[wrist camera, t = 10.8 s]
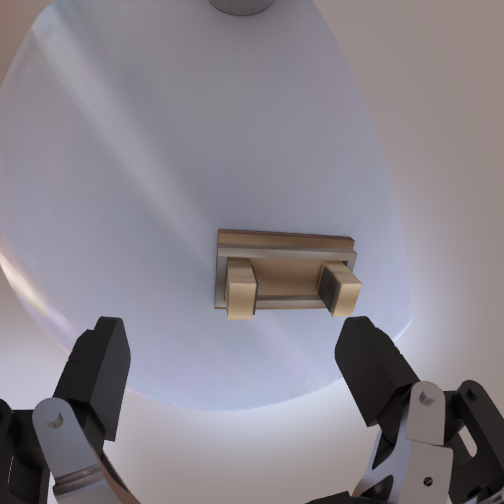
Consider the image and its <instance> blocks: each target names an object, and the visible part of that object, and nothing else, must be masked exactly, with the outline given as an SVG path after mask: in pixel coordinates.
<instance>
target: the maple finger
mask: <svg viewBox="0 0 504 504" xmlns="http://www.w3.org/2000/svg"><path fill="white" fill-rule="evenodd" d="M361 285H362V283H361V282H360V281H359V280H358V279H357V278H356V276H355V275H354V274H353V273H352V272H351V271H350V270H349V269H348V268H347V267H346V266H345V265H344V263H343V262H342V261H332V260H323V264H322V268H321V273H320V277H319V281H318V285H317V290H316V291H317V292H318V295H319V296H320V298H321V299H322V301H323V303H324V304H325V306H326V307H327V309H328V311H329V312H330V313H331V315H332V316H333V317H339V316H352V313H353V310H354V307H355V304H356V301H357V298H358V295H359V292H360V288H361Z"/></svg>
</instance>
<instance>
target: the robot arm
mask: <svg viewBox="0 0 504 504" xmlns="http://www.w3.org/2000/svg"><path fill="white" fill-rule="evenodd" d="M209 1H210V2H211V3H212V5H213V6H215V7H216V8H217V9H219V10H221V11H223V12H226V13H229V14H233V15H252V14H256V13H259V12H261V11H263V10H265V9H266V8H268V7H269V6H270V5H271V3H272V2H273V0H209ZM72 350H73V351H72V352H71V354H70V356H69V358H68V359H69V360H68V361H67V363H66V365H65V368H64V370H63V372H62V375H61V377H60V379H59V382H58V385H57V387H56V389H55V392H54V394H53V396H52V398H47V399H45V400H42V401H41V402H40V403H39V404H37V406H36V407H35V409H34V410H12V409H11V408H10V407H9V405H8V404H7V403H6V402H5V401H4V400H2V399H0V504H47V497H48V487H49V478H50V471H51V472H52V475H53V477H54V480H55V485H54V486H53V493H54V496H55V498H56V500H57V502H58V504H141V503H140V502H139V501H138V500H137V499H136V498H135V497H134V495H133V494H132V493H131V492H130V490H129V489H128V488H127V486H126V485H125V484H124V482H123V481H122V479H121V478H120V476H119V475H118V473H117V472H116V470H115V469H114V467H113V466H112V464H111V462H110V461H109V459H108V457H107V456H106V454H105V453H104V451H103V444H104V440H109V441H114V442H115V437H116V431H117V426H118V420H119V414H120V409H121V404H122V399H123V394H124V390H125V385H126V381H127V376H128V372H129V368H130V361H131V356H130V348H129V344H128V341H127V337H126V332H125V328H124V324H123V321H122V319H121V318H116V317H104V316H101V317H100V318H99V319H98V321H97V323H96V326H95V328H94V330H88V329H87V330H86V331H85V332H84V333H83V334H82V335H81V336H80V337H79V338H78V339H77V341H76V343H75V345H74V347H73V349H72ZM335 360H336V363H337V365H338V367H339V369H340V371H341V373H342V375H343V377H344V379H345V381H346V383H347V385H348V387H349V389H350V392H351V394H352V396H353V398H354V400H355V402H356V404H357V406H358V408H359V410H360V412H361V414H362V417H363V419H364V421H365V423H366V425H367V427H371V426H374V425H377V424H379V426H380V427H381V429H380V430H379V431H378V434H377V437H376V440H375V444H374V447H373V451H372V454H371V457H370V460H369V463H368V466H367V469H366V472H365V474H364V476H363V477H362V479H361V480H360V481H359V483H358V484H357V486H356V488H355V489H354V492H353V494H352V496H350V495H349V492H348V491H345V492H342V493H338V494H335V495H331V496H327V497H324V498H320V499H316V500H312V501H310V502H308V503H306V504H446V502H447V497H448V494H449V497H450V499H451V502H452V504H504V419H503V417H502V415H501V414H500V412H499V411H498V409H497V408H496V406H495V404H494V403H493V402H492V400H491V399H490V397H489V395H488V394H487V393H486V391H485V390H484V388H483V387H482V386H481V385H480V384H479V383H477V382H475V381H472V380H467V381H464V382H463V383H462V384H461V385H460V387H459V388H458V389H457V391H442V390H441V389H440V388H439V387H438V386H437V385H436V384H434V383H432V382H429V381H420V380H419V378H418V377H417V375H416V374H415V373H414V371H413V370H412V368H411V367H410V365H409V364H408V363H407V361H406V360H405V358H404V357H403V355H402V354H400V351H399V350H398V348H397V347H396V346H394V343H393V342H392V340H391V339H390V337H389V336H388V335H387V334H386V333H384V332H383V331H382V330H380V329H379V328H375V326H374V325H373V323H372V322H371V321H370V319H369V318H368V317H367V316H359V317H348V318H347V319H346V320H345V322H344V324H343V327H342V330H341V333H340V336H339V338H338V341H337V344H336V347H335ZM465 425H466V427H467V428H468V431H469V432H470V434H471V436H472V438H473V440H474V441H475V443H476V445H477V453H476V455H475V456H474V457H472V456H470V454H469V452H468V450H467V449H466V446H465V445H464V443H463V441H462V439H461V437H460V435H459V433H458V432H459V431H460V430H461V429H462V428H463V427H464V426H465ZM12 457H13V460H12ZM11 462H12V465H11ZM10 467H11V470H10ZM9 473H10V475H9ZM8 479H9V482H8Z"/></svg>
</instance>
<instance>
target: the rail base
mask: <svg viewBox="0 0 504 504" xmlns="http://www.w3.org/2000/svg"><path fill="white" fill-rule="evenodd" d="M354 242H355V241H354V240H353V239H352V238H351V237H340V236H326V235H310V234H295V233H278V232H260V231H241V230H220V229H219V230H218V246H217V264H216V284H215V309H227V317H228V319H252V315H255V309H314V308H327V307H326V306H325V304H324V303H323V301H322V299H321V298H320V296H319V295H318V292H317V291H316V290H317V285H318V281H319V277H320V273H321V268H322V264H323V260H332V261H342V262H343V263H344V265H345V266H346V267H347V268H348V269H349V270H350V271H351V272H352V271H353V267H354V263H355V260H356V256H357V253H356V252H355V251H354V250H353V246H354Z"/></svg>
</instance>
